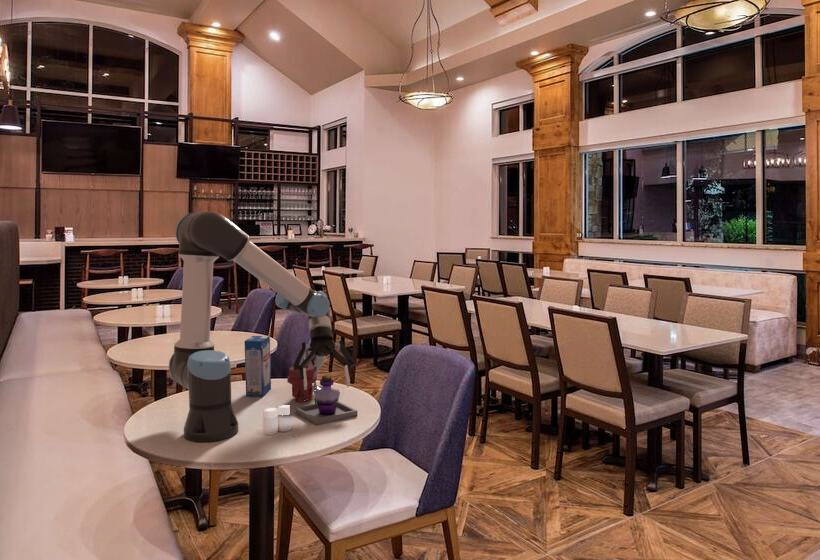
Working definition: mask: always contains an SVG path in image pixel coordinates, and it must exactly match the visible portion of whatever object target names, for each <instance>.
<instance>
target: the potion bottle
mask: <svg viewBox="0 0 820 560" xmlns="http://www.w3.org/2000/svg"><path fill="white" fill-rule="evenodd" d="M333 385H334V379H333V378H332V376H331V375H322V376H321V379H319V386H322V389H319V390H316V391H313V395H314V399H313V400H314V401H313V402H314V403H313V404H315V405H316V406H317V405H318V409H319V415H324V416H327V415H333V414H335V411H336V406H337V401H339V398H340V396H341V395H340V393H341V392H340V390H339V389H338V388H337V389H336V388H332V386H333Z"/></svg>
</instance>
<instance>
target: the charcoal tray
mask: <svg viewBox="0 0 820 560" xmlns="http://www.w3.org/2000/svg"><path fill="white" fill-rule="evenodd" d="M294 408H295V409H294V414H296V413H297V414H296V415H298V416H299V417H302V418H303V419H305V420H306V421H308V422H309V423H312V424H313V425H315V426H319V425H324V424H329V423H333V422H336V421H337V422H338V421H342V420H346V419H345V418H347V419H350V417H351V418H355V417H358V410H357V409H355V408H353V407H351V406H349V405H347V404H345V403H344V402H341V401H339V400H338V401H337V406H336V411H335V414H333V415H327V416H324V415H319V409H318V405H317V406H316V405H315V403H310V404H306V405H301V406H297V407H294Z"/></svg>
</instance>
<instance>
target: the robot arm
mask: <svg viewBox="0 0 820 560" xmlns="http://www.w3.org/2000/svg"><path fill="white" fill-rule="evenodd" d="M174 233H175V234H174V235H175V239H176V241H177V242H178V243H179V244H178V246H179V247H178V256H179V257H180V259H182V261H183V267H182V268H183V269H182V270H183V272H182V273H183V274H182V291H181V307H180V308H181V310H180V311H181V312H180V313H181V314H180V327H179V328H180V331H179V339H178V340H177V341H176V342H175V343H174V345H173V346H174V347H173V353H172V355H171V356H170V358H169V362H168V371H169V374H170V376H171V378H172V379H173V381H175V382H176V383H177V384H178V385H179V386H181V387H184V388H185V389H187V390H188V400H189V401H188V402H189V405H188V406H189V410H188V413H187V417H186V419H185V420H186V421H185V422H184V427H183V437H184V438H185V439H186V440H188V441H189V442H197V443H207V442H208V443H210V442H217V441H222V440H225V439H229V438H230V437H233V436H235V435H236V434H237V433H238V432H239V421H238V419H237V415H236V413H235V411H234V408H233V406H232V374H231V371H232V365H231V359H230V357H229V355H228V354H227V353H225V352H223V351H220V350H215V344H214V342H212V341H211V339H210V338H211V337H210V335H211V334H210V333H211V320H212V319H211V318H212V316H211V315H212V298H213V297H212V296H213V295H212V294H213V282H214V281H213V277H214V263H215V261H217V260H218V259H219V258H220V257H222V258H223V259H225V260H226V261H227V262H232V261H233V262H234V263H236V264H238V266H240V267H241V268H243V269H244V270H245V271H247V272H248V273H250V274H251V275H253V276H254V277H255V278H256V279H257V280H259V281H261V282H262V283H263V284H265V286H267V287H269V289H271V290H273V291H274V292H276V293H277V294H276V296H275V304H276V306H277V308H281V309H283V310H286V311H289V312H292V313H296V314H299V315H301V316H304V317H307V320H308V321H307V322H308V328H309V329H308V330H309V339H310V343H306V342H302V343H301V349H300V351H299V353H298V355H297V357H296V358H295V361H294V363H293V366H292V367H293V370H298V371H299V375H300V380H303V381H304V390H307V378H306V366H307V365H308V364H309V363H310V362H311V360H312V359H313V358H315V356H316V355H318V356H325V357H328V356H330V357H331V358H333V359H335V360H336V361H337V362H338V363H340V364H341V365H342V366H343V367H344V377H345V385H346V387H347V388H349V387H350V384H351V383H350V382H351V380H350V377H351V376H352V374H353V372H352V368H354V367H355V366H356V360H355V358H354V357H353V355H352V354H351V353H350V352H349V350H348V349H347V348H346V347H345V343H344V342H343V340H339V342H338V341H337V342H335V341H334V337H333V336H334V335H333V331H332V329H333V328H332V322H331V316H330V315H331V314H330V307H331V306H330V305H331V304H330V300H329V298H328V296H327V294H326V293H325V292H324V291H322V290H318V291H316V290H313V288H311V287H309V285H307V284H306V283H304V281H302V280H301V279H299V278H298V277H297V276H295V275H294V274H293V273H292V272H290V271H289V270H288V269H286V268H285V267H283V266H282V265H281V264H280V263H279V262H278V261H276V260H275V259H273V258H272V257H271V256H270V255H269V254H267V253H266V252H265V251H263V250H262V249H261V248H260V247H258V246H257V245H256V244H254V242H252V241H250V236H249V235H248V233H246V232H245V231H243V230H242V229H241V228H240V227H239V226H237V225H236V224H235V223H234V222H233V221H231V220H230V219H229V218H227V217H226V216H224V215H223V214H221V213H218V212H216V211H193V212H189V213H187V214H185V215H183V216H182V217H181V218H180V219H179V220H178V222H177V223H176V226H175V228H174ZM308 348H310V349H311V350H312V351H311V353H310V354H309V355H308V356H307V358H306V359H305V360H304V359H303V358H304V354H305V351H307V350H308ZM335 348H336V349H337V350H339V352H340V353H339V352H338V351H337V350H336V349H335ZM302 360H303V361H302ZM299 364H301V365H299Z"/></svg>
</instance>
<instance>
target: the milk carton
mask: <svg viewBox="0 0 820 560" xmlns="http://www.w3.org/2000/svg"><path fill="white" fill-rule="evenodd" d="M244 366H245V367H244V372H245V375H244V376H245V396H246V398H247V396H250V397H249V398H252V397H253V398H264V397H265V396H266V395H267V393H269V392H270V391H271V390H272V378H271V377H272V376H271V375H272V372H271V370H272V369H271V368H272V367H271V366H272V365H271V336H270V335H252V336H250V337H249V338H247V339H245V340H244ZM269 390H270V391H269Z"/></svg>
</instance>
